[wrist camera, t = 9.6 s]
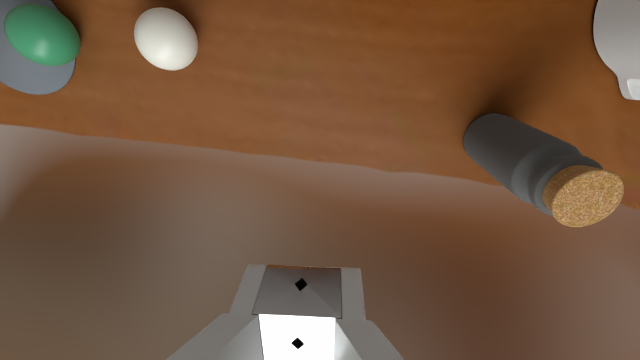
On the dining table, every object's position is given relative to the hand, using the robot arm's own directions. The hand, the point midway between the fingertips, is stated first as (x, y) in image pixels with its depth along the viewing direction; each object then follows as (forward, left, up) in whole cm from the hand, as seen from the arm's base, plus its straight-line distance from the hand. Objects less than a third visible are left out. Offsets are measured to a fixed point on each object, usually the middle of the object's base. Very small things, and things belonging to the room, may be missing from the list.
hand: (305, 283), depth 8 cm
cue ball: (+15, -6, -25) cm, 30 cm away
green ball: (+27, -6, -25) cm, 38 cm away
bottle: (-19, +4, -28) cm, 34 cm away
